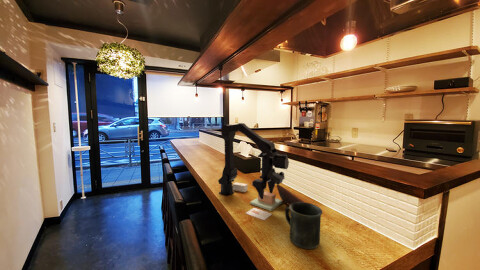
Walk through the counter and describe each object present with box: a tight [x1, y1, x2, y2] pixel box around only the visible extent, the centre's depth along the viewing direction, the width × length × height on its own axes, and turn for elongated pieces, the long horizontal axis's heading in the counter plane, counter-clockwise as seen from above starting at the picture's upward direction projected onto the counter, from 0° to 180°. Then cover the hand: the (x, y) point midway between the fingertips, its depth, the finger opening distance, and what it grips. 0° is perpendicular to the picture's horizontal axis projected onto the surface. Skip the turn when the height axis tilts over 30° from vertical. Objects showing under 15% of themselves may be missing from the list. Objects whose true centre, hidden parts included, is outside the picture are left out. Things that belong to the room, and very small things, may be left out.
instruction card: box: [245, 207, 273, 221], centre depth 91 cm, size 10×7×1 cm
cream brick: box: [232, 181, 248, 193], centre depth 120 cm, size 8×4×4 cm, turn 64°
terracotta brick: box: [257, 190, 276, 205], centre depth 102 cm, size 8×4×4 cm, turn 53°
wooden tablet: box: [276, 184, 305, 206], centre depth 94 cm, size 26×2×10 cm, turn 21°
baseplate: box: [249, 197, 283, 212], centre depth 102 cm, size 12×12×1 cm
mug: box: [284, 201, 323, 250], centre depth 72 cm, size 11×15×12 cm
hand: (266, 196), depth 102 cm, fingers open, 9 cm apart
